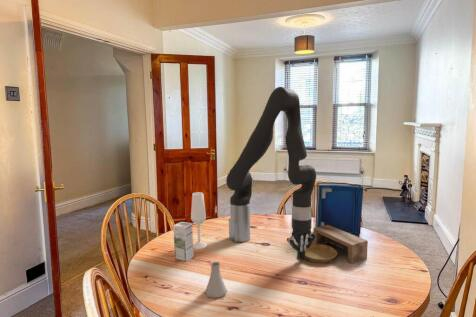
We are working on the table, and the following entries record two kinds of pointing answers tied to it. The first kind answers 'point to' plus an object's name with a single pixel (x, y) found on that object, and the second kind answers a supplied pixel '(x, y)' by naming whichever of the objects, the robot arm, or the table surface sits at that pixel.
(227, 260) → the table surface
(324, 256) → the plant saucer
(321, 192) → the book
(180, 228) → the syrup box
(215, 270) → the flask
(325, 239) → the walnut shelf
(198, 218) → the champagne flute
